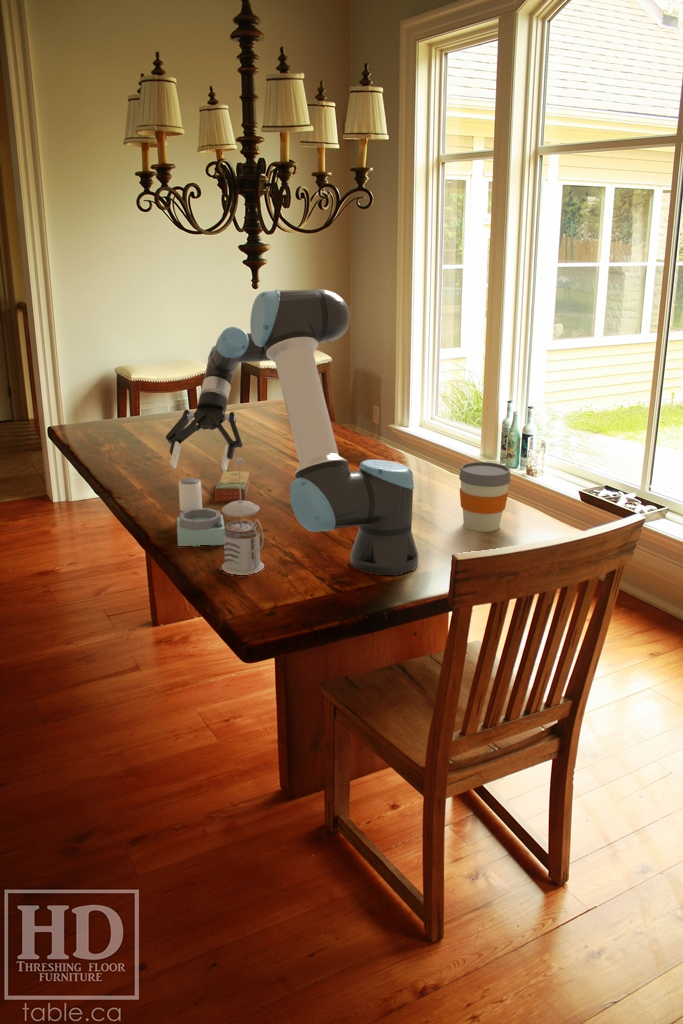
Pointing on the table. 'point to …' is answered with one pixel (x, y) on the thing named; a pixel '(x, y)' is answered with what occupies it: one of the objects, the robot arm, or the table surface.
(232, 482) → the carton
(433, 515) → the table surface
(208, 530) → the body block
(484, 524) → the reusable coffee cup
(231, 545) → the french press
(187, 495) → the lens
